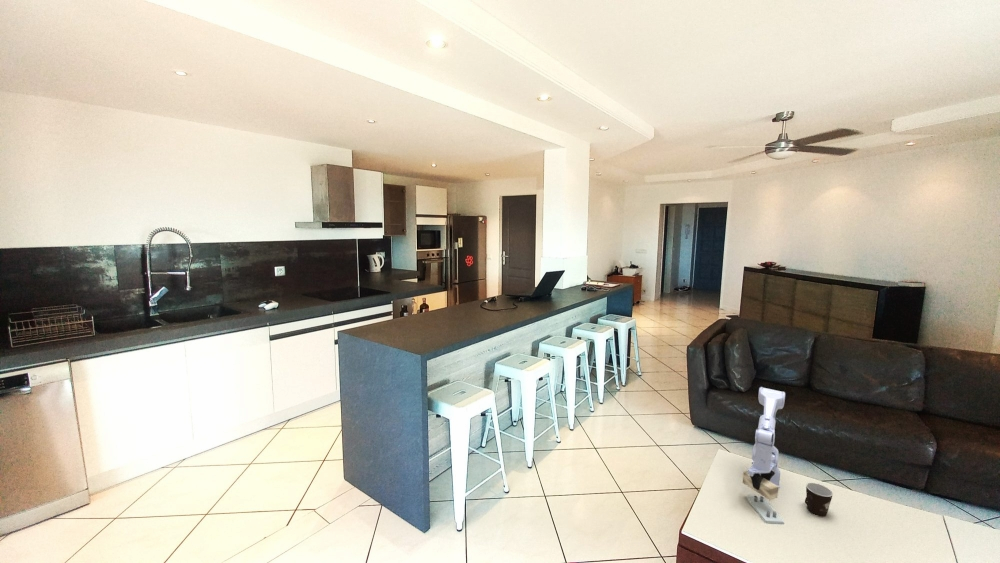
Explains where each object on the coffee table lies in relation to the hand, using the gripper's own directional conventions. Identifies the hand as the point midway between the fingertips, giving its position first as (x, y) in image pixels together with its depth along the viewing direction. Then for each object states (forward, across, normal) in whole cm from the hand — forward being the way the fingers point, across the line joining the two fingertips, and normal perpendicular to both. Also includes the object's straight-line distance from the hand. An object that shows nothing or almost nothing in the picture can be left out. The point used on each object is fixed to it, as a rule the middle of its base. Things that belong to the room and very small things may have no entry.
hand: (759, 487), depth 165 cm
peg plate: (+8, +1, +3) cm, 9 cm away
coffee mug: (+9, -18, +11) cm, 23 cm away
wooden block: (+1, 0, 0) cm, 1 cm away
